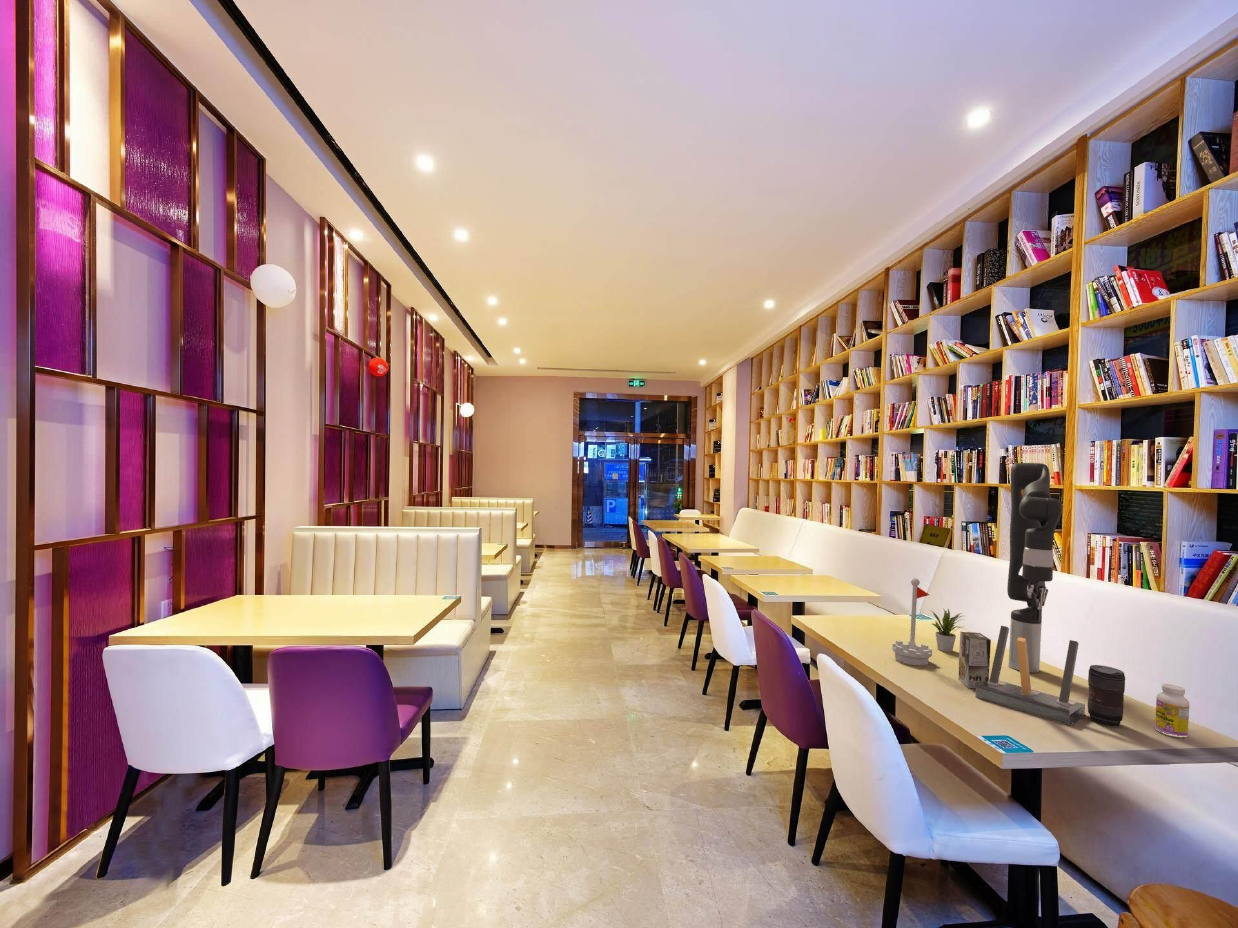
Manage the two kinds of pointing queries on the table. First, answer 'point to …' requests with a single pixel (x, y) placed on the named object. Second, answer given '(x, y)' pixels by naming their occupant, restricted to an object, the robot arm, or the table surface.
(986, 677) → the coffee box
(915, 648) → the flag stand
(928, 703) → the table surface
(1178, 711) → the supplement bottle
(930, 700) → the table surface
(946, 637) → the house plant
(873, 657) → the table surface
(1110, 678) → the camera lens
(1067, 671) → the lever high
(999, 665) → the lever low
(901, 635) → the table surface
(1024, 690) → the lever mid
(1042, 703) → the breaker panel
